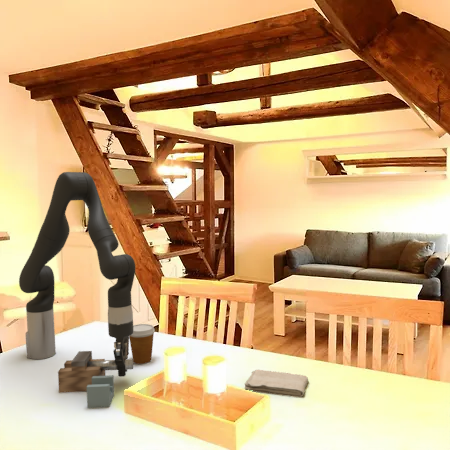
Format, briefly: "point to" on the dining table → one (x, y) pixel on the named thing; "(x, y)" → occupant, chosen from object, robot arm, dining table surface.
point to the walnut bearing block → (78, 373)
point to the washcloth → (277, 383)
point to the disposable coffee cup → (142, 343)
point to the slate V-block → (100, 391)
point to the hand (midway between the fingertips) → (122, 373)
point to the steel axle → (110, 364)
